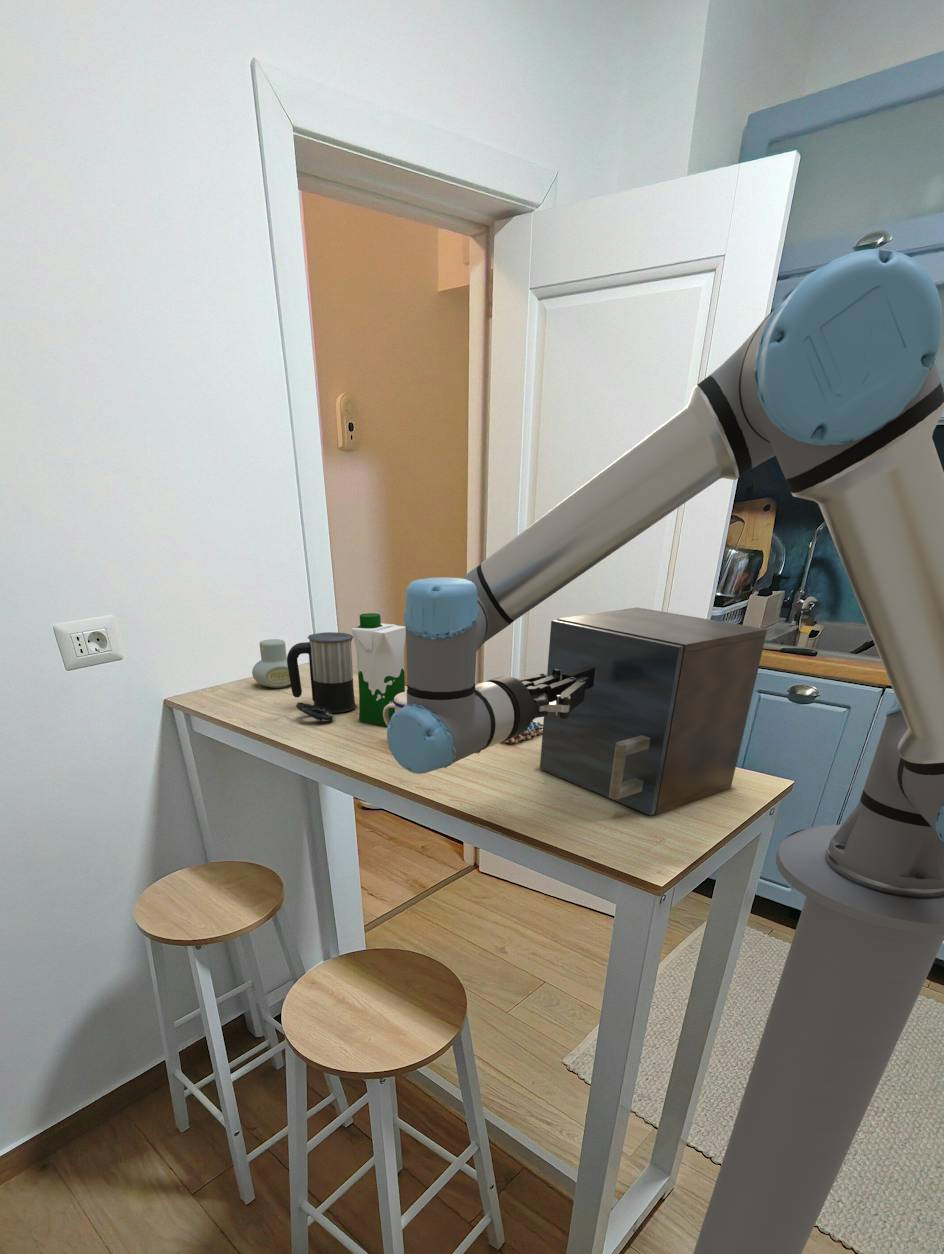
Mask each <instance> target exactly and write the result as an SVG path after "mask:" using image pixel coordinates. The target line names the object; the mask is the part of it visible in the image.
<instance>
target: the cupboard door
mask: <svg viewBox="0 0 944 1254" xmlns="http://www.w3.org/2000/svg"><path fill="white" fill-rule="evenodd" d="M549 631H550V633H549V644H548V657H547V671H546V675H547V677H548V676H551V675H552V671H553V669H559V670H561V673H560V676H562V674H565V673H567V672H570V671H573V670H576V669H579V668H582V667H584V666H590V667H595V675H594V684H593V687H591V688H589V689H586V690H585V696H584V701H582V702H581V703H580V704H579V705H578V706H577V707H575V708H574V709H573V710H572V711H571V712H569V718H566V719H561V718H559V715H555V712H548V714H547V715H546V716H544V717H543V723H542V725H543V726H542V727H543V729H542V730H543V734H542V736H541V738H542V739H541V749H540V759H539V760H540V761H539V769H540V770H542V771H545V772H547V773H549V774H552V775H553V776H556V777H557V778H561V779H563V780H565V781H568V782H569V783H573V784H574V785H577V786H580V787H582V788H584V789H587V790H589V791H591V792H594V793H596V794H598V795H601V796H603V797H605V798H608V799H610V800H613V801H615V802H618V803H620V804H622V805H624V806H627V807H628V808H632V809H634V810H636V811H639V812H641V813H643V814H645V815H649V816H650V817H651V816H654V815H655V811H656V806H657V800H658V794H659V788H660V782H661V777H662V771H663V765H664V759H665V754H666V748H667V742H668V736H669V731H670V725H671V719H672V713H673V707H674V702H675V696H676V690H677V684H678V679H679V673H680V667H681V661H682V656H683V650H684V646H681V645H676V644H671V643H666V642H661V641H656V640H651V639H647V638H642V637H637V636H632V635H627V634H622V633H617V632H612V631H607V630H602V629H597V628H592V627H587V626H583V625H578V624H573V623H568V622H563V621H558V620H557V619H554V620H551V621H550V630H549Z"/></svg>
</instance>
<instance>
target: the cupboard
mask: <svg viewBox="0 0 944 1254" xmlns="http://www.w3.org/2000/svg"><path fill="white" fill-rule="evenodd" d="M556 620H558V621H563V622H568V623H573V624H578V625H583V626H587V627H592V628H597V629H602V630H607V631H612V632H617V633H622V634H627V635H632V636H637V637H642V638H647V639H651V640H656V641H661V642H666V643H671V644H676V645H681V646H684V650H683V656H682V661H681V667H680V673H679V679H678V684H677V690H676V696H675V702H674V707H673V713H672V719H671V725H670V731H669V736H668V742H667V748H666V754H665V759H664V765H663V771H662V777H661V782H660V788H659V794H658V800H657V806H656V811H655V814H654V815H656V816H657V815H660V814H662V813H665V812H668V811H671V810H674V809H677V808H679V807H682V806H685V805H687V804H690V803H693V802H696V801H698V800H701V799H704V798H707V797H710V796H712V795H715V794H718V793H721V792H724V791H727V790H730V789H731V788H732V785H733V781H734V776H735V772H736V767H737V763H738V759H739V756H740V755H739V754H740V751H741V746H742V741H743V737H744V733H745V728H746V725H747V720H748V715H749V711H750V707H751V702H752V698H753V694H754V689H755V686H756V681H757V676H758V672H759V669H760V663H761V659H762V655H763V649H764V647H765V642H766V637H767V632H768V628H763V627H757V626H751V625H746V624H739V623H734V622H733V623H732V622H727V621H722V620H715V619H711V618H710V619H708V618H703V617H696V616H692V615H685V614H679V613H673V612H667V611H660V610H656V609H655V610H654V609H651V608H644V607H629V608H622V609H616V610H609V611H602V612H596V613H595V612H594V613H587V614H581V615H580V614H579V615H574V616H566V617H560V618H559V617H558V618H557V619H556Z"/></svg>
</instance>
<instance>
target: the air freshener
mask: <svg viewBox="0 0 944 1254" xmlns="http://www.w3.org/2000/svg"><path fill="white" fill-rule="evenodd" d="M259 652H260V660H259V661H258V662H256V663H255V665H253V668H252V670H251V676H252V677H253V679H254V681H255V682H257V684H259V685H260V686H263V687H266V688H271V689H283V688H287V687H288V686H291V683H290V677H289V672H288V665H287V655H288V654H287V648H286V642H285V640H284V639H278V638H270V639H269V638H268V639H264V640H263V639H262V640H261V641H260V642H259Z"/></svg>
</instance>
